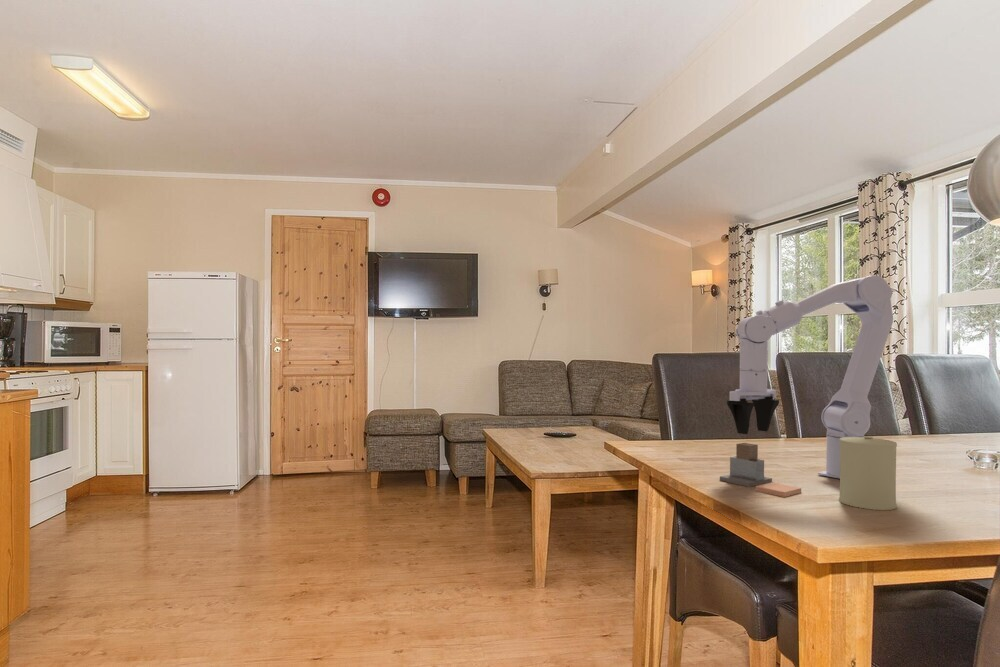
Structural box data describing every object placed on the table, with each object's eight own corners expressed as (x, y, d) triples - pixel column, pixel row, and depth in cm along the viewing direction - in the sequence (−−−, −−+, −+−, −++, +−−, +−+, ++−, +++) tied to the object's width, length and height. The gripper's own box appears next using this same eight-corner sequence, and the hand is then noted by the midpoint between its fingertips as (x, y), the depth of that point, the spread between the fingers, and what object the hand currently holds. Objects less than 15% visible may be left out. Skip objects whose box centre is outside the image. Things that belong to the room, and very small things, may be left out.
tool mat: (742, 475, 138) (742, 472, 138) (772, 482, 132) (772, 478, 132) (719, 480, 133) (719, 476, 133) (749, 486, 127) (749, 483, 127)
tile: (772, 482, 128) (755, 486, 124) (801, 488, 123) (784, 492, 120) (772, 488, 128) (755, 493, 124) (801, 495, 123) (784, 499, 120)
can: (895, 501, 117) (896, 437, 117) (897, 513, 109) (898, 444, 109) (839, 494, 122) (840, 432, 122) (837, 505, 114) (838, 439, 114)
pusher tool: (738, 474, 136) (738, 441, 136) (763, 479, 131) (764, 445, 131) (729, 475, 134) (730, 442, 134) (755, 481, 129) (755, 447, 129)
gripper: (756, 369, 147) (755, 427, 146) (717, 370, 138) (717, 432, 138) (784, 370, 141) (784, 431, 141) (746, 372, 132) (745, 436, 132)
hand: (752, 432), depth 139 cm, fingers open, 7 cm apart
